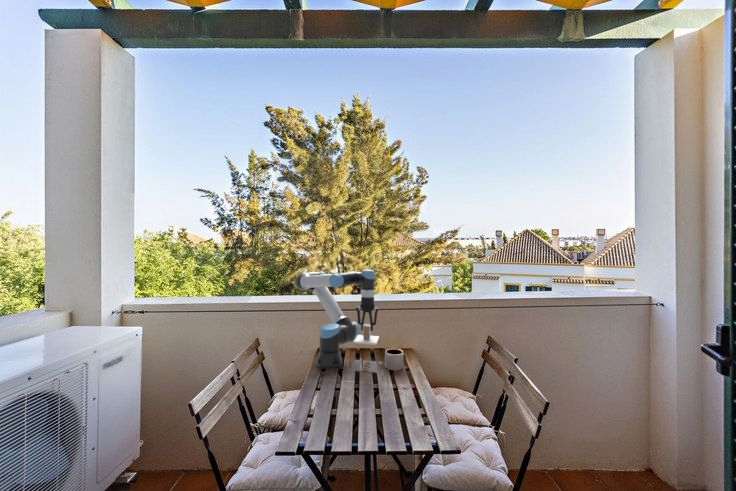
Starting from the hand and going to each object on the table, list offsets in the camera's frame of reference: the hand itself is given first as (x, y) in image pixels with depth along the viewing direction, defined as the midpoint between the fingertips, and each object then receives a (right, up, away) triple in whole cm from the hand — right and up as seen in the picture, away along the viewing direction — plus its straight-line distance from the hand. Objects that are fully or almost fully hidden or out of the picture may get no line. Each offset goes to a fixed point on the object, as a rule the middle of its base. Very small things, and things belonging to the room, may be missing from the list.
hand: (366, 336), depth 216 cm
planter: (+16, -19, +1) cm, 25 cm away
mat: (0, -18, +1) cm, 18 cm away
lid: (0, -3, 0) cm, 3 cm away
